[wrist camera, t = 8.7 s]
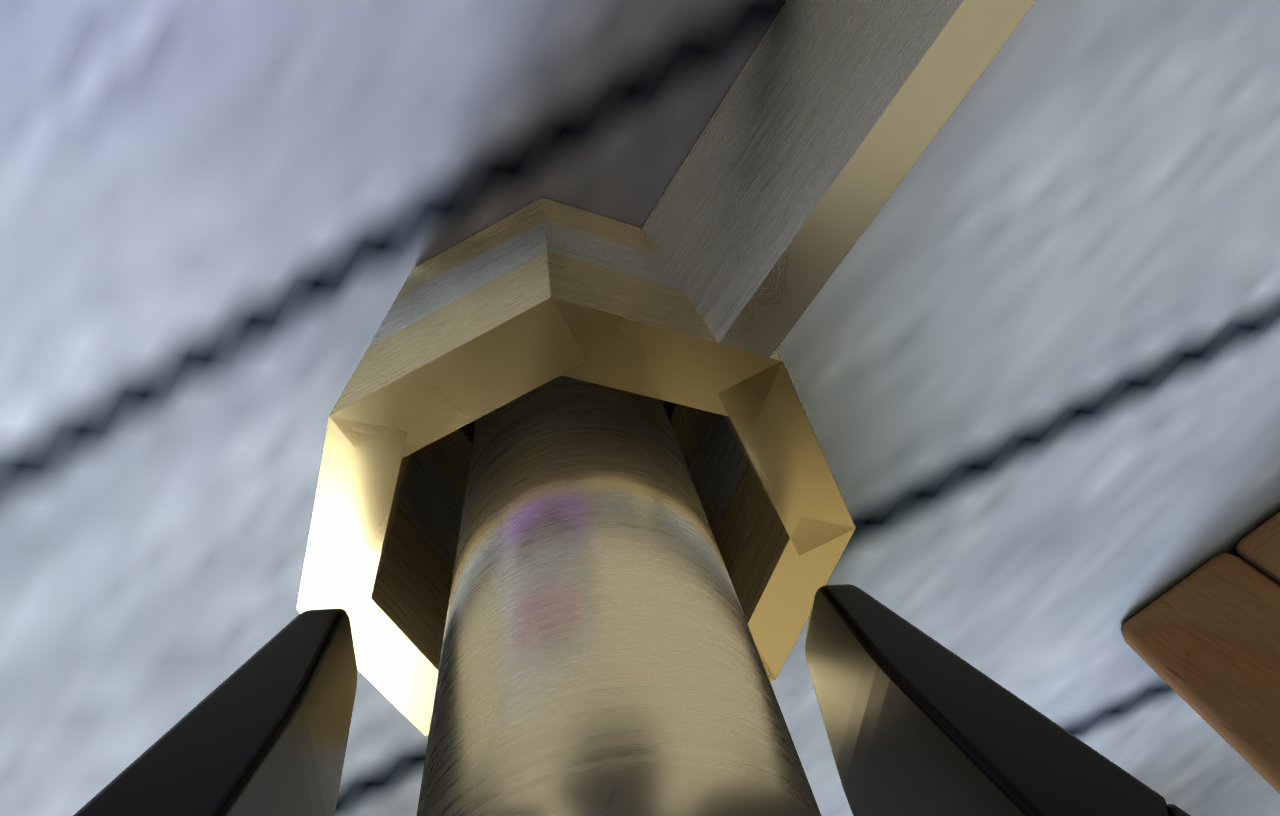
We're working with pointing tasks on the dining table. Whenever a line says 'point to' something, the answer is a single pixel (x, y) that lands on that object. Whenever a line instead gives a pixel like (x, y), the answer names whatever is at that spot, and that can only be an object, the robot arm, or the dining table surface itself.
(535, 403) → the pin
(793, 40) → the hinge
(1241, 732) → the wooden block
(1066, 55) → the dining table surface
